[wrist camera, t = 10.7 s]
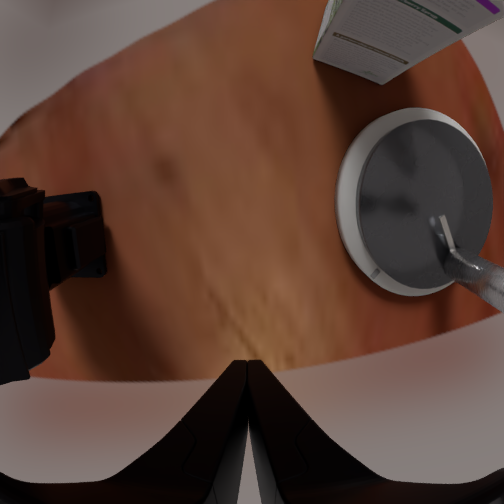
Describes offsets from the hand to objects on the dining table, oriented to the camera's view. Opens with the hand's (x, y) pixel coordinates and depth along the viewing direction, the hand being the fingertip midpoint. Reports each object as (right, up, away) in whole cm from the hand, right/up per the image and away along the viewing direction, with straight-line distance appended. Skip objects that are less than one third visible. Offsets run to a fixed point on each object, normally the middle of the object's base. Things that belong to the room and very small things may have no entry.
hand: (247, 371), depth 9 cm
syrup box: (+8, +19, +9) cm, 22 cm away
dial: (+13, +7, +10) cm, 18 cm away
